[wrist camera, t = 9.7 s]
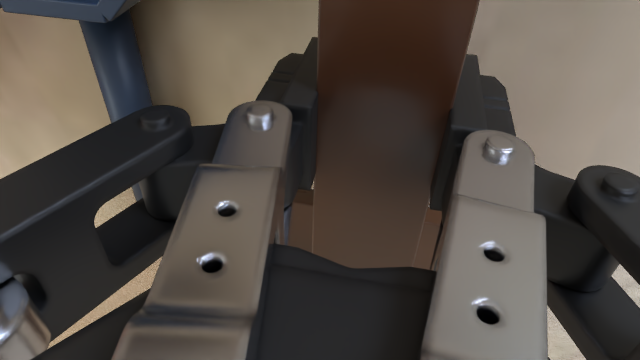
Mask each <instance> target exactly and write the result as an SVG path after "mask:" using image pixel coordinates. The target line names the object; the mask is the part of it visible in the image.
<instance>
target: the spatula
mask: <svg viewBox="0 0 640 360" xmlns="http://www.w3.org/2000/svg"><path fill="white" fill-rule="evenodd" d="M479 1H480V0H319V14H318V51H317V88H316V91H317V92H318V113H317V144H316V174H315V177H314V190H313V189H310V191H309V190H302V189H298V190H297V193H296V196H295V198H294V200H293V217H292V225H291V234H290V243H289V246H293V247H298V248H301V249H303V250H306V251H308V252H311V253H313V254H316V255H318V256H321V257H323V258H326V259H328V260H331V261H333V262H336V263H338V264H341V265H343V266H346V267H349V268H385V267H416V268H422V269H427V270H429V268H430V263H431V259H432V255H433V250H434V246H435V242H436V238H437V233H438V230H439V226H440V223H441V219H442V211H436V210H430V207H428V204H429V200H430V189H431V185H432V181H433V177H434V173H435V169H436V165H437V161H438V157H439V153H440V149H441V145H442V141H443V137H444V133H445V129H446V125H447V121H448V117H449V113H450V109H452V108H453V105H454V101H455V97H456V93H457V89H458V85H459V81H460V77H461V73H462V69H463V65H464V61H465V57H466V53H467V49H468V45H469V41H470V37H471V33H472V29H473V25H474V21H475V17H476V13H477V9H478V5H479Z"/></svg>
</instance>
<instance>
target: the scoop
mask: <svg viewBox="0 0 640 360" xmlns="http://www.w3.org/2000/svg"><path fill="white" fill-rule="evenodd" d="M139 1H141V0H0V8H3V10H4V11H5V12H10V13H18V14H27V15H36V16H45V17H54V18H63V19H72V20H79V23H80V26H81V29H82V32H83V35H84V39H85V42H86V45H87V48H88V51H89V54H90V57H91V61H92V64H93V67H94V70H95V73H96V76H97V79H98V82H99V86H100V89H101V92H102V95H103V98H104V101H105V104H106V108H107V111H108V114H109V117H110V120H111V123H113V122H115V121H117V120H119V119H121V118H123V117H125V116H127V115H129V114H131V113H133V112H135V111H137V110H140V109H143V108H146V107H150V106H153V105H152V101H151V97H150V93H149V89H148V84H147V80H146V76H145V72H144V68H143V64H142V60H141V55H140V51H139V47H138V43H137V39H136V35H135V31H134V27H133V22H132V18H131V14H130V10H129V8H131V7H132V6H134V5H135V4H137V3H138V2H139ZM132 189H133V192H134V196H135V199H136V202H137V201H139V200H140V199H142V198H143V196H142V192H141V189H140V186H139V182H138V183H136V184H135V185H133V186H132Z"/></svg>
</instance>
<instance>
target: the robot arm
mask: <svg viewBox="0 0 640 360" xmlns="http://www.w3.org/2000/svg"><path fill="white" fill-rule="evenodd" d="M317 51H318V38H317V37H312V39H311V41H310V43H309V45H308V47H307V48H306V50H305V52H304V54H296V53H291V54H289V55H287V56H286V57H284V58H282V59H281V60H279V61H278V63H277V65H276V66H275V68H274V70H273V72H272V73H271V75H270V76H269V78H268V80H267V82H266V83H265V85H264V87H263V88H262V90H261V92H260V93H259V95H258V97H257V99H256V100H255V101H251V102H247V103H243V104H241V105H239V106H237V107H235V108H234V109H233V110H232V111H231V112H230V113H229V115H228V118H227V121H226V123H225V124H219V125H206V126H191V121H190V116H189V114H188V113H187V112H186V111H185V110H183V109H181V108H179V107H175V106H169V105H156V106H150V107H146V108H143V109H140V110H137V111H135V112H133V113H131V114H129V115H127V116H125V117H123V118H121V119H119V120H117V121H115V122H113V123H111V124H109V125H107V126H105V127H103V128H101V129H99V130H97V131H95V132H93V133H91V134H89V135H87V136H85V137H83V138H81V139H79V140H77V141H75V142H73V143H71V144H69V145H67V146H65V147H63V148H61V149H59V150H57V151H56V152H54V153H52V154H50V155H48V156H46V157H44V158H42V159H40V160H38V161H36V162H34V163H32V164H30V165H28V166H26V167H24V168H22V169H20V170H18V171H16V172H14V173H12V174H10V175H8V176H6V177H4V178H2V179H0V360H550V359H549V357H548V337H547V305H548V306H549V308H550V309H551V311H552V312H553V313H554V315H555V316H556V318H557V319H558V320H559V322H560V323H561V325H562V326H563V327H564V329H565V330H566V332H567V333H568V334H569V336H570V337H571V339H572V340H573V341H574V343H575V344H576V346H577V347H578V348H579V350H580V351H581V353H582V354H583V355H584V357H585V358H586V360H640V308H639V307H638V306H637V305H636V304H635V302H634V301H633V300H632V299H631V298H630V297H629V296H628V295H627V293H626V292H625V291H624V290H623V289H622V288H621V287H620V286H619V284H618V283H617V282H616V281H615V280H614V279H613V278H612V276H611V275H612V274H613V272H614V271H615V270H616V268H617V267H618V265H619V264H621V265H622V266H623V267H624V269H625V270H626V271H627V272H628V273H629V274H630V275H631V276H632V277H633V278H634V279H635V280H636V282H637V283H638V284H639V285H640V177H638V176H636V175H634V174H632V173H630V172H628V171H625V170H622V169H619V168H615V167H611V166H601V165H597V166H590V167H587V168H584V169H583V170H581V171H580V173H579V174H578V176H577V178H576V180H573V179H570V178H567V177H564V176H561V175H558V174H555V173H552V172H550V171H547V170H545V169H543V168H541V167H539V166H537V165H535V164H534V163H535V157H534V153H533V150H532V149H531V148H530V146H529V145H528V144H527V143H525V142H524V141H523V140H521V139H519V138H518V137H516V134H515V129H514V125H513V120H512V116H511V111H509V110H510V107H509V102H508V101H507V100H508V98H507V93H506V89H505V87H504V86H503V85H502V84H501V83H500V82H499V81H498V80H497V79H496V78H495V77H492V76H483V75H480V72H479V65H478V58H477V55H469V54H466V57H465V61H464V65H463V69H462V73H461V77H460V81H459V85H458V89H457V93H456V97H455V101H454V105H453V108H452V109H450V113H449V117H448V121H447V125H446V129H445V133H444V137H443V141H442V145H441V149H440V153H439V157H438V161H437V165H436V169H435V173H434V177H433V181H432V185H431V189H430V210H436V211H442V219H441V223H440V226H439V230H438V233H437V238H436V242H435V246H434V250H433V255H432V259H431V263H430V268H429V270H427V269H422V268H416V267H385V268H349V267H346V266H343V265H341V264H338V263H336V262H333V261H331V260H328V259H326V258H323V257H321V256H318V255H316V254H313V253H311V252H308V251H306V250H303V249H301V248H298V247H293V246H289V243H290V234H291V225H292V217H293V200H294V198H295V196H296V193H297V190H298V189H302V190H309V191H310V189H311V186H312V183H313V180H314V177H315V174H316V144H317V113H318V92H317V91H316V88H317ZM138 182H139V186H140V189H141V192H142V196H143V198H142V199H140V200H139V201H137V202H136V203H134V204H132V205H131V206H129V207H128V208H126V209H125V210H123V211H122V212H120V213H119V214H117V215H116V216H114V217H112V218H111V219H109V220H108V221H106V222H105V223H103V224H102V225H100V226H99V227H97V228H95V225H94V218H95V215H96V213H97V211H98V210H99V208H100V207H101V206H102V205H103V204H104V203H106V202H107V201H109V200H111V199H112V198H114V197H115V196H117V195H119V194H120V193H122V192H123V191H125V190H127V189H128V188H130V187H132V186H133V185H135V184H136V183H138ZM162 256H163V257H162ZM160 257H162V260H161V262H160V265H159V268H158V270H157V273H156V275H155V278H154V281H153V283H152V286H151V288H150V289H148V290H147V291H145V292H143V293H142V294H140V295H138V296H136V297H135V298H133V299H131V300H130V301H128V302H126V303H125V304H123V305H121V306H120V307H118V308H116V309H115V310H113V311H111V312H110V313H108V314H106V315H104V316H103V317H101V318H99V319H98V320H96V321H94V322H93V323H91V324H89V325H88V326H86V327H84V328H83V329H81V330H79V331H78V332H76V333H74V334H72V335H71V336H69V337H67V338H66V339H64V340H62V341H61V342H59V343H57V344H56V345H54V346H52V347H51V348H49V349H47V348H48V346H49V343H50V342H51V341H53V340H54V339H55V338H56V337H58V336H59V335H60V334H62V333H63V332H64V331H66V330H67V329H68V328H69V327H71V326H72V325H73V324H75V323H76V322H77V321H79V320H80V319H81V318H82V317H84V316H85V315H86V314H88V313H89V312H90V311H92V310H93V309H94V308H95V307H97V306H98V305H99V304H101V303H102V302H103V301H104V300H106V299H107V298H108V297H110V296H111V295H112V294H114V293H115V292H116V291H117V290H119V289H120V288H121V287H123V286H124V285H125V284H127V283H128V282H129V281H130V280H132V279H133V278H134V277H136V276H137V275H138V274H140V273H141V272H142V271H143V270H145V269H146V268H147V267H149V266H150V265H151V264H152V263H154V262H155V261H156V260H158V259H159V258H160Z"/></svg>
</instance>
